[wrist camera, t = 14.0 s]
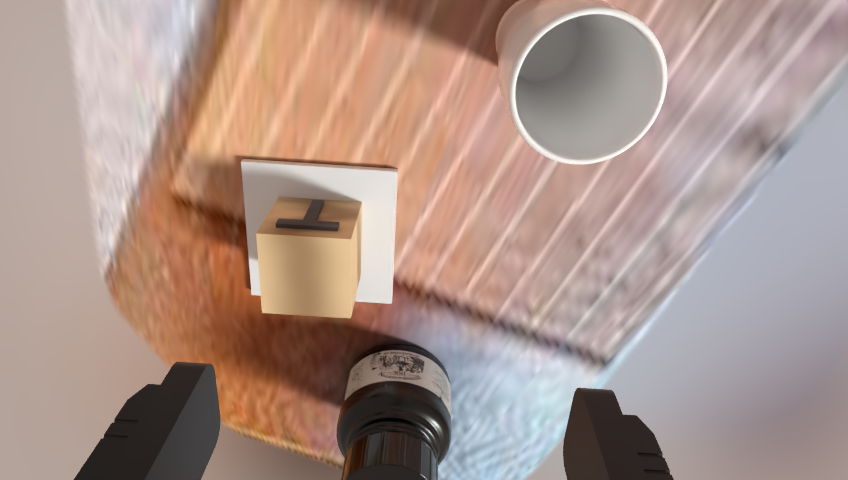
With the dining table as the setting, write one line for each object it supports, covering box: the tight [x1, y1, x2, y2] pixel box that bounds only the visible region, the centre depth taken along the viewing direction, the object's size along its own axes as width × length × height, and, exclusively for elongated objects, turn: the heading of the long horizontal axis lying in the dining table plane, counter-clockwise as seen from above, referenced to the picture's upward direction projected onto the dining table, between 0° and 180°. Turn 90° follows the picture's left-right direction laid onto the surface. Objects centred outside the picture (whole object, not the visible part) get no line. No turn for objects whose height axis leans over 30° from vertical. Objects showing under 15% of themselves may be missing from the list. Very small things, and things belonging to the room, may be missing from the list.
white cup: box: [495, 0, 667, 164], centre depth 32 cm, size 7×7×15 cm
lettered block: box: [256, 197, 362, 318], centre depth 42 cm, size 6×7×6 cm
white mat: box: [241, 159, 398, 304], centre depth 45 cm, size 11×11×1 cm
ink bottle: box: [337, 345, 451, 480], centre depth 46 cm, size 10×9×12 cm
